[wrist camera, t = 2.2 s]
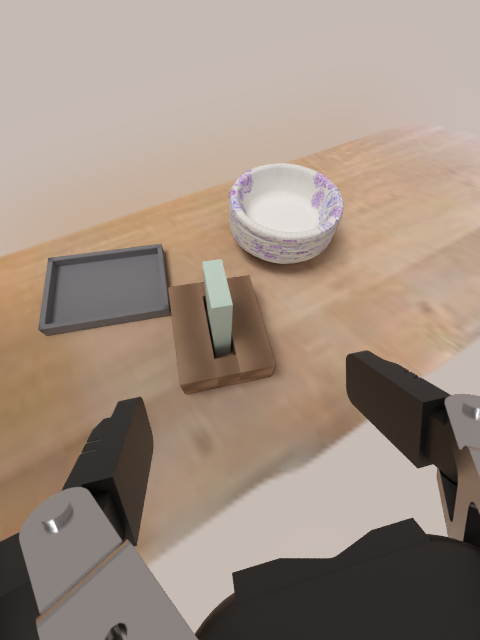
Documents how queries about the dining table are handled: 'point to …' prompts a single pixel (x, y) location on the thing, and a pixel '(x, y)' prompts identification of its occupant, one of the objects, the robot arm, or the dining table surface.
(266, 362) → the walnut slotted block
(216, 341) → the pale green rectangular block
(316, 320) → the dining table surface
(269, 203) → the paper bowls
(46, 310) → the charcoal tray
